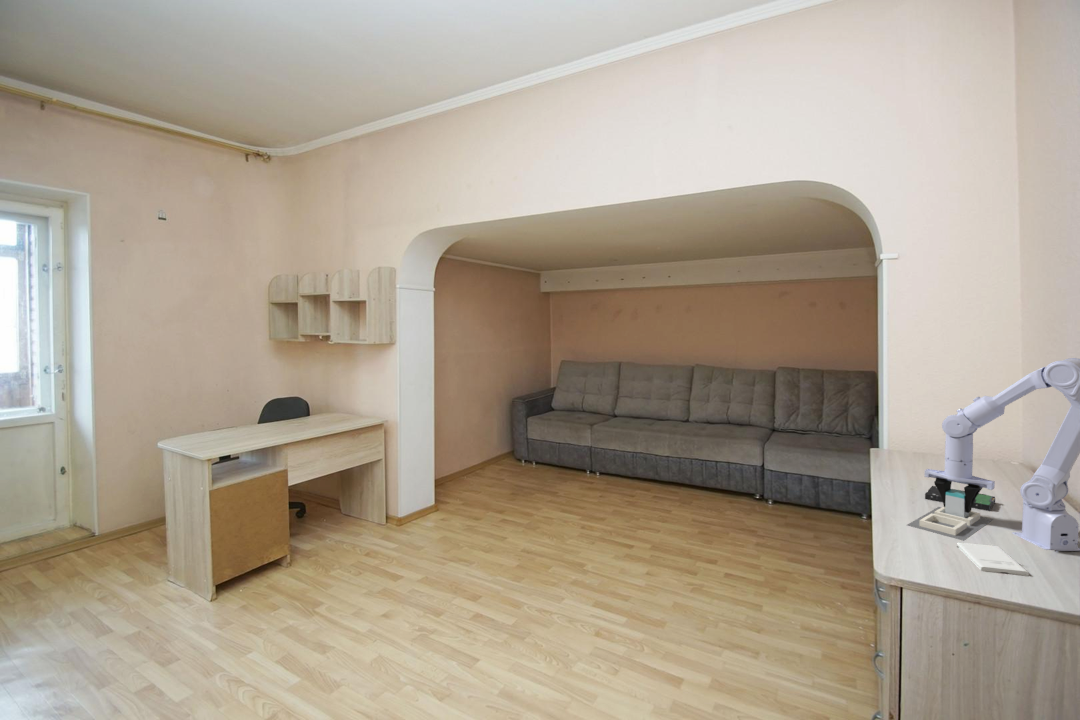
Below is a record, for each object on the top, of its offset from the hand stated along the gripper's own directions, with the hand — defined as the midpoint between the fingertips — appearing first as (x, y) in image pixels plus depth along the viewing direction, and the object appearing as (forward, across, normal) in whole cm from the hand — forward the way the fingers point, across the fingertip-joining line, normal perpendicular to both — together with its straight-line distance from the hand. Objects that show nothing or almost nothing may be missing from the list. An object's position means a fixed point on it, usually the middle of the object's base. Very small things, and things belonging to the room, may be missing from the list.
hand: (957, 509), depth 137 cm
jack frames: (+3, 0, +5) cm, 6 cm away
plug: (+2, 0, 0) cm, 2 cm away
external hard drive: (+4, -13, +22) cm, 25 cm away
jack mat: (+3, 0, +5) cm, 6 cm away
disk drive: (+4, +4, -16) cm, 17 cm away
